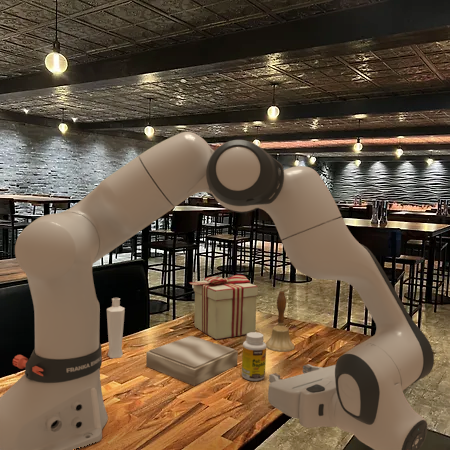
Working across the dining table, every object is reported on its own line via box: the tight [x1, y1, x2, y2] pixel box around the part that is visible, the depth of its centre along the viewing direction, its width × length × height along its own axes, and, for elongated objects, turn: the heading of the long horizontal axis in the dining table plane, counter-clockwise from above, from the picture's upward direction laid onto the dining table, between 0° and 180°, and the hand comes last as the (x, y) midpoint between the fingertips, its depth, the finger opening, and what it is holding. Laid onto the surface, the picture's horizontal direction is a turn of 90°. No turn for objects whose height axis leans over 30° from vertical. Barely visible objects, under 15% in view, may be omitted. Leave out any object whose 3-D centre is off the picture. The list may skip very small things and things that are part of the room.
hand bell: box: [265, 290, 295, 353], centre depth 123 cm, size 8×8×16 cm
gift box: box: [188, 274, 259, 340], centre depth 137 cm, size 17×18×17 cm
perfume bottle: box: [106, 297, 126, 359], centre depth 112 cm, size 5×4×15 cm
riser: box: [145, 335, 239, 387], centre depth 108 cm, size 16×16×4 cm
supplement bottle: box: [241, 331, 267, 382], centre depth 103 cm, size 6×6×10 cm
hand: (288, 372), depth 93 cm, fingers open, 8 cm apart
